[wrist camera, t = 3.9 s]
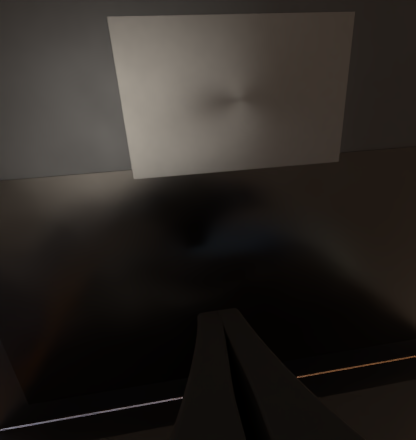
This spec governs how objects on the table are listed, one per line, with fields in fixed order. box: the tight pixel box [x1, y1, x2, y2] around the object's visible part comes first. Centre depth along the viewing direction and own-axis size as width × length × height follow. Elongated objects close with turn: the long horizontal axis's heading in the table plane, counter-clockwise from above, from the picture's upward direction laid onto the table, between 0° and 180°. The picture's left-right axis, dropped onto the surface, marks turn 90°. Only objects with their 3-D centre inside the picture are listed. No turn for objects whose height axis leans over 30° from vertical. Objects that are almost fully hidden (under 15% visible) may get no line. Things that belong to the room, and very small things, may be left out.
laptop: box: [0, 0, 416, 429], centre depth 13 cm, size 21×30×2 cm
